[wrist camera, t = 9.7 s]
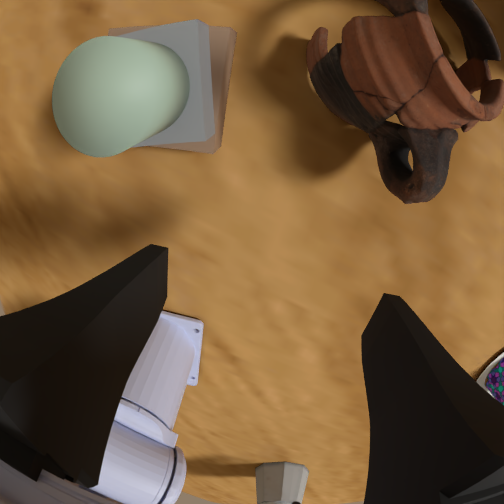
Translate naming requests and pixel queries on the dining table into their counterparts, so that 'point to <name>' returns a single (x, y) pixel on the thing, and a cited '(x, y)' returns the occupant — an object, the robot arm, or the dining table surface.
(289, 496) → the coffee maker
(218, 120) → the tower base
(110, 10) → the dining table surface
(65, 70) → the green cylinder
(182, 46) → the tower top
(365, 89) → the pottery mug
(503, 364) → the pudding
